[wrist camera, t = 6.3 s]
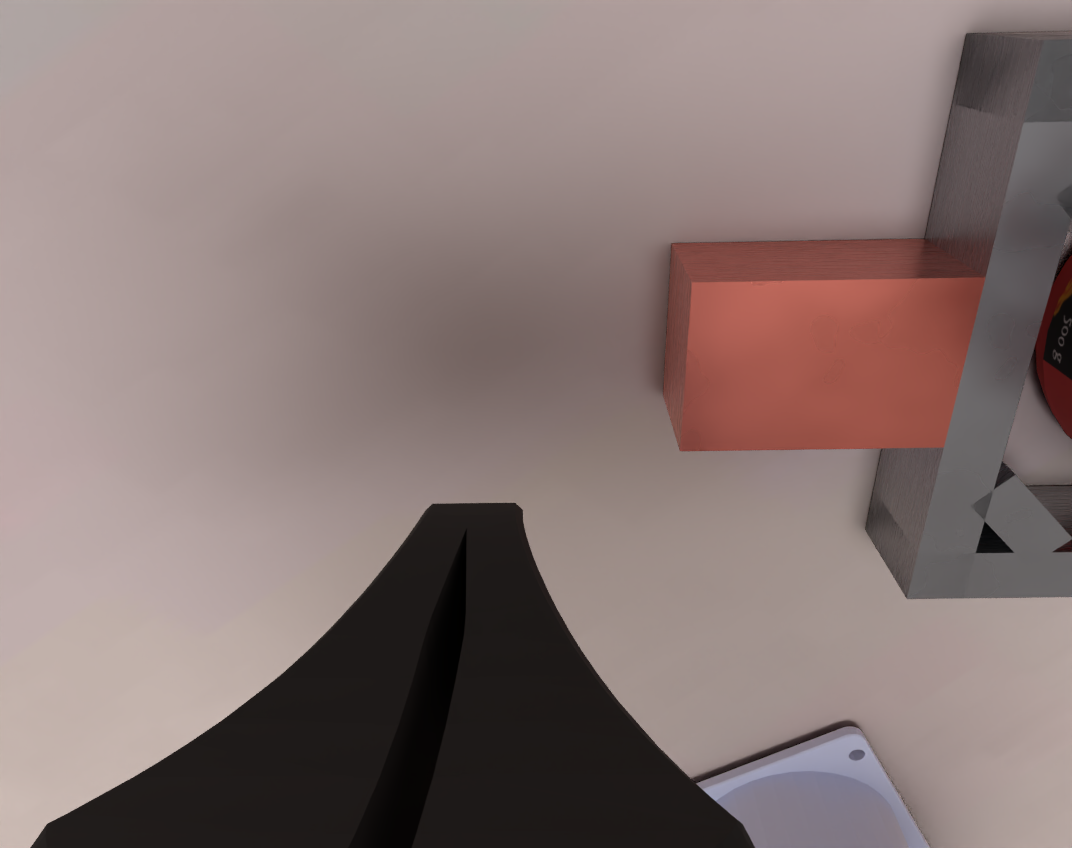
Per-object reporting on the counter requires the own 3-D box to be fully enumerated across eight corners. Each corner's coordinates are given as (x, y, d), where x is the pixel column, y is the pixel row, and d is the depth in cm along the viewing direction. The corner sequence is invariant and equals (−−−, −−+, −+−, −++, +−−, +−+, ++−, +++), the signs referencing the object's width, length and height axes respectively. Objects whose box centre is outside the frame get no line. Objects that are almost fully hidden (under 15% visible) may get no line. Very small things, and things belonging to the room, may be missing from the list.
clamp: (655, 532, 23) (669, 601, 21) (683, 40, 17) (708, 47, 15) (1198, 525, 23) (1283, 594, 20) (1417, 23, 17) (1578, 27, 14)
